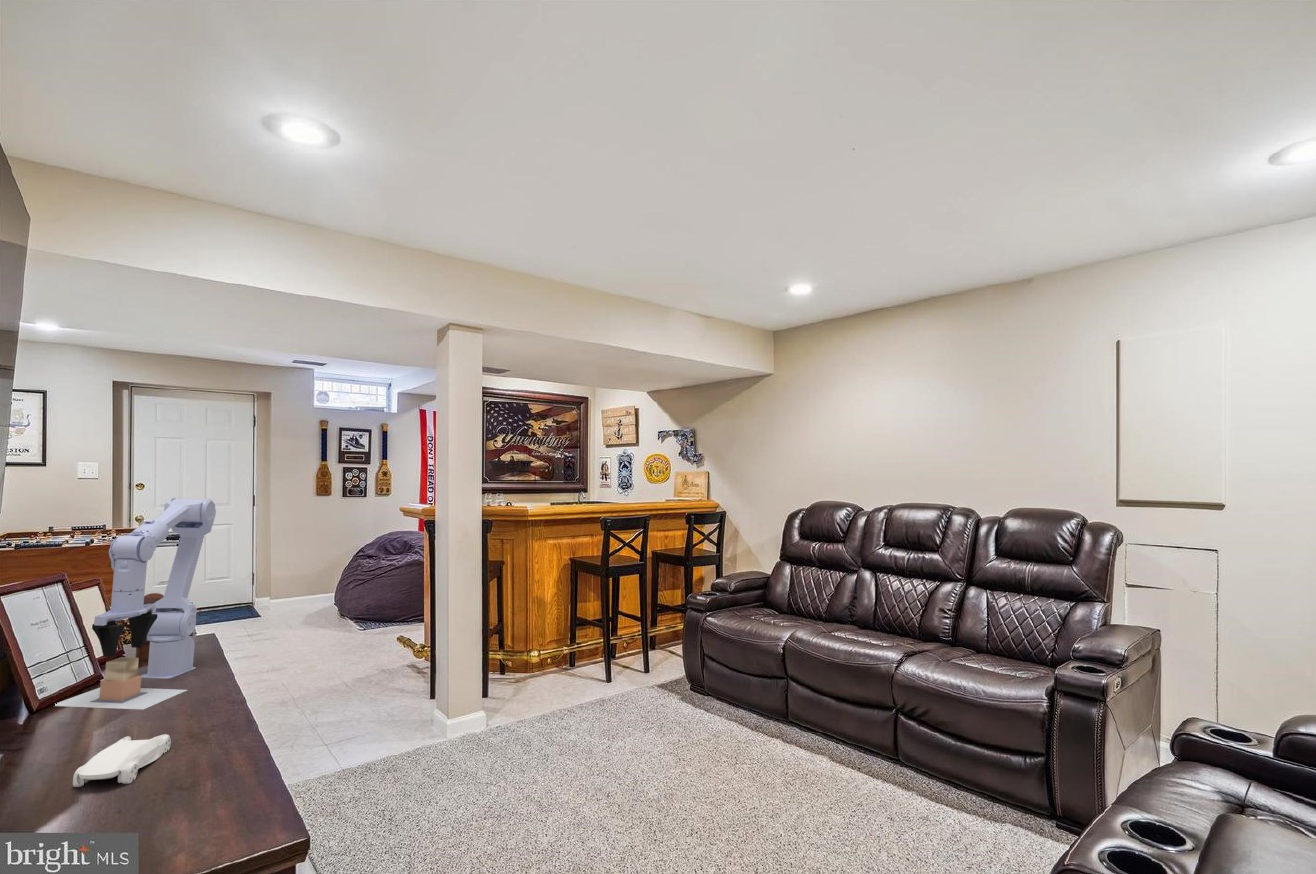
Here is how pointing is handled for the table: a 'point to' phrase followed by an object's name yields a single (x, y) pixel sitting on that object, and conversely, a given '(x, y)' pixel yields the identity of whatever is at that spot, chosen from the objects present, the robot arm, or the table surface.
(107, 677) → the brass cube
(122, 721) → the table surface
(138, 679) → the terracotta block
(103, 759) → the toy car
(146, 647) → the wooden figurine
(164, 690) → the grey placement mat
